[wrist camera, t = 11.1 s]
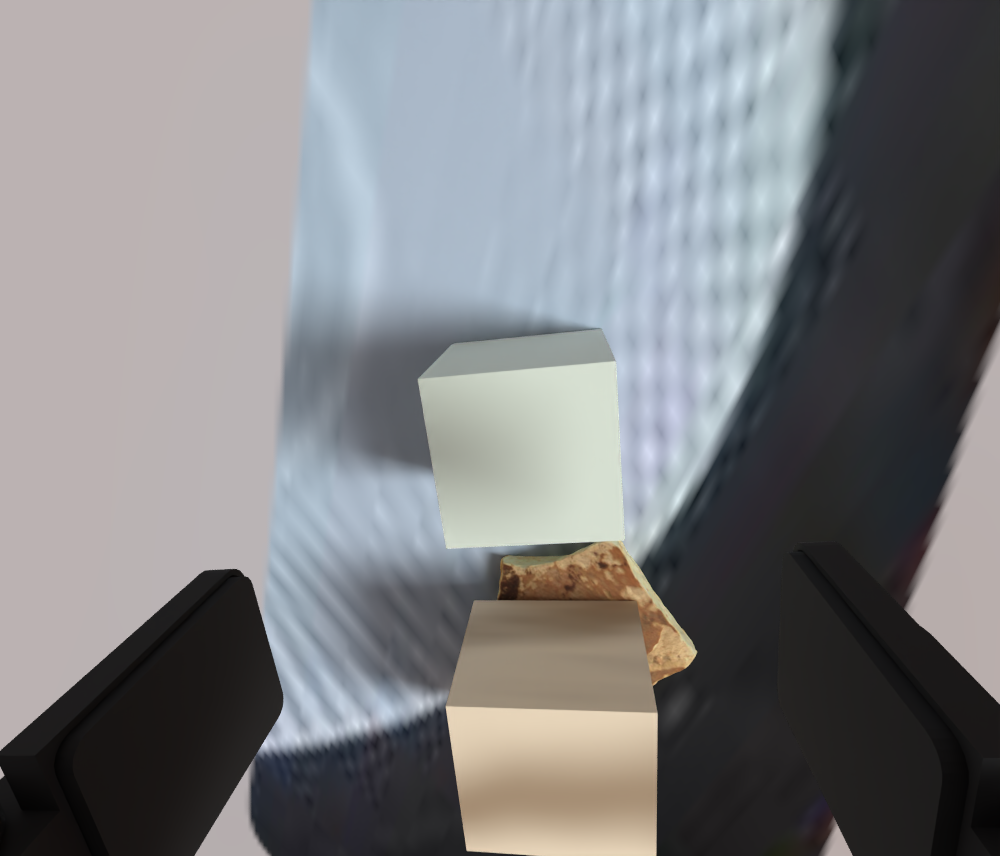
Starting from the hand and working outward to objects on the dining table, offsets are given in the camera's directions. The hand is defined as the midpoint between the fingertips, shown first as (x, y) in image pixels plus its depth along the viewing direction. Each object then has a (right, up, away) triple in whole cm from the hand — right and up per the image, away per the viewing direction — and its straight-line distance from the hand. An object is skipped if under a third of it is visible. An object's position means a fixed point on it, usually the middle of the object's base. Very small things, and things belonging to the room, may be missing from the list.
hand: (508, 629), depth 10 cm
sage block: (+1, +4, +10) cm, 11 cm away
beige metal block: (+2, -6, +12) cm, 13 cm away
